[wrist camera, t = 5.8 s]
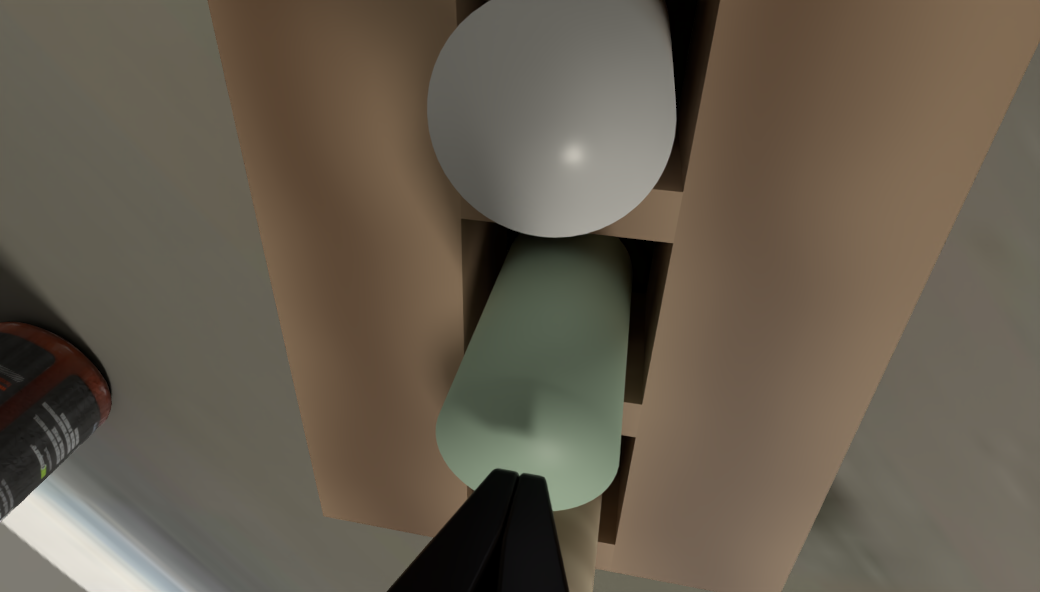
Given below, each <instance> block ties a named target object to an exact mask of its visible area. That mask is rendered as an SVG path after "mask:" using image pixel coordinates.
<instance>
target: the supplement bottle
mask: <svg viewBox="0 0 1040 592" xmlns="http://www.w3.org/2000/svg"><path fill="white" fill-rule="evenodd" d="M111 405H112V401H111V395H110V391H109V388H108V386H107V383H106V381H105V379H104V378H103V376H102V375H101V373H100V372H99V370H98V369H97V368H96V366H95V365H94V364H93V363H92V362H91V361H90V360H89V359H88V358H87V357H86V356H85V355H84V354H83V353H82V352H80V350H78V349H77V348H76V347H75V346H73V345H72V344H71V343H70V342H68V341H67V340H66V339H64V338H62V337H61V336H58V335H56V334H54V333H51V332H49V331H47V330H44V329H42V328H39V327H37V326H33V325H30V324H26V323H20V322H1V323H0V522H1V521H2V520H3V519H4V518H5V517H6V516H7V515H8V514H9V513H10V512H11V511H12V510H13V509H14V508H15V507H16V506H18V505H19V504H20V503H21V502H22V501H23V500H24V499H25V498H26V497H27V496H28V495H29V494H30V493H31V492H32V491H33V490H34V489H36V488H37V487H38V486H39V485H40V484H41V483H42V482H43V481H44V480H45V479H46V478H47V477H48V476H49V475H50V474H51V473H52V472H53V471H54V470H55V469H56V468H57V467H58V466H59V465H60V464H61V463H63V462H64V460H66V459H67V458H68V457H69V456H70V455H71V454H72V453H73V452H74V451H75V450H76V449H77V448H78V447H79V446H80V445H81V444H82V443H83V442H84V441H85V440H86V439H88V438H89V437H90V436H91V434H93V433H94V432H95V430H96V429H97V428H98V427H99V426H100V425H101V424H102V423H103V422H104V421H105V420H106V419H107V418H108V415H109V412H110V410H111Z"/></svg>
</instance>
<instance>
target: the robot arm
mask: <svg viewBox="0 0 1040 592" xmlns="http://www.w3.org/2000/svg"><path fill="white" fill-rule="evenodd" d="M387 592H569V587H568V582H567V577H566V572H565V568H564V563H563V558H562V553H561V548H560V544H559V539H558V534H557V529H556V524H555V519H554V515H553V510H552V505H551V500H550V495H549V491H548V486H547V481H546V479H545V477H543V476H540V475H535V474H529V473H522V474H521V475H520V476H519V473H518V472H516V471H512V470H506V469H501V468H496V469H494V470H492V471H491V472H490V473H489V475H488V476H487V477H486V478H485V479H484V480H483V481H482V483H481V484H480V485H479V486H478V487H477V488H476V490H475V491H474V492H473V493H472V494H471V495H470V496H469V498H468V499H467V500H466V501H465V502H464V503H463V504H462V506H461V507H460V508H459V509H458V510H457V511H456V513H455V514H454V515H453V516H452V517H451V518H450V519H449V521H448V522H447V523H446V524H445V525H444V526H443V527H442V529H441V530H440V531H439V532H438V533H437V534H436V536H435V537H434V538H433V539H432V540H431V541H430V542H429V544H428V545H427V546H426V547H425V548H424V549H423V550H422V552H421V553H420V554H419V555H418V556H417V557H416V559H415V560H414V561H413V562H412V563H411V564H410V565H409V567H408V568H407V569H406V570H405V571H404V572H403V573H402V575H401V576H400V577H399V578H398V579H397V580H396V582H395V583H394V584H393V585H392V586H391V587H390V588H389V590H388V591H387Z"/></svg>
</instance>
